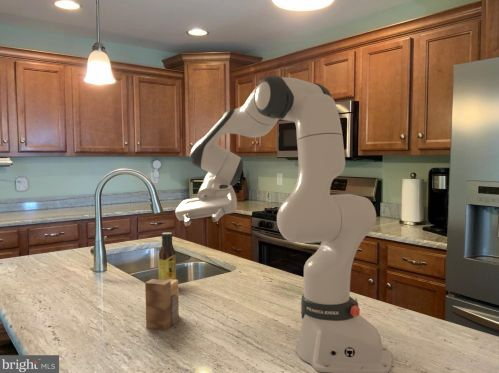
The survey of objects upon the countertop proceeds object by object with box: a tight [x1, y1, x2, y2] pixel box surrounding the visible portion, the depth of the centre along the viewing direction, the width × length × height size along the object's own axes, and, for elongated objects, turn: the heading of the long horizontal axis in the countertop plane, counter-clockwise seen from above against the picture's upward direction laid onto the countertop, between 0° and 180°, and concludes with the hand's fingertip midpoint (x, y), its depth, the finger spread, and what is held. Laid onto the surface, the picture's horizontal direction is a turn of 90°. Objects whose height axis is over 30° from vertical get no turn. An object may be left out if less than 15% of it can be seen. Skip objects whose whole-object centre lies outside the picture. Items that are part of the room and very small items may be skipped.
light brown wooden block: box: [167, 279, 180, 317], centre depth 118 cm, size 3×6×11 cm, turn 163°
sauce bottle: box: [158, 232, 177, 280], centre depth 148 cm, size 7×6×20 cm
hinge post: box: [144, 278, 178, 331], centre depth 114 cm, size 7×6×13 cm
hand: (200, 222), depth 122 cm, fingers open, 8 cm apart
